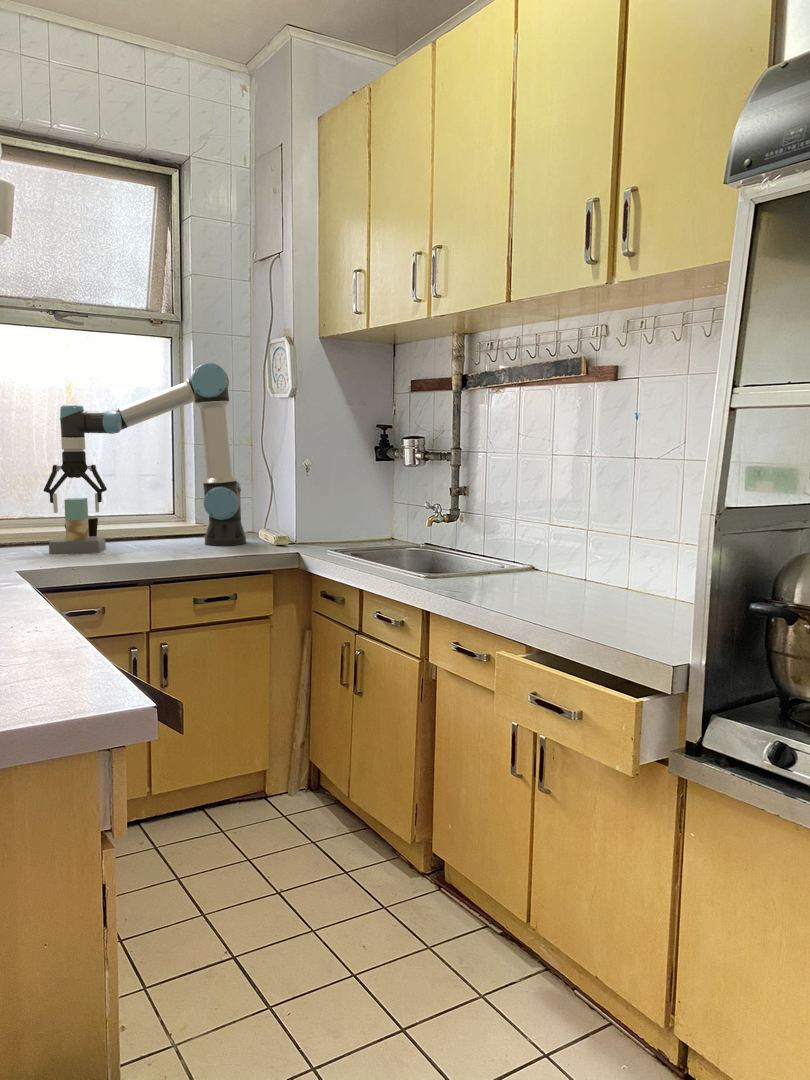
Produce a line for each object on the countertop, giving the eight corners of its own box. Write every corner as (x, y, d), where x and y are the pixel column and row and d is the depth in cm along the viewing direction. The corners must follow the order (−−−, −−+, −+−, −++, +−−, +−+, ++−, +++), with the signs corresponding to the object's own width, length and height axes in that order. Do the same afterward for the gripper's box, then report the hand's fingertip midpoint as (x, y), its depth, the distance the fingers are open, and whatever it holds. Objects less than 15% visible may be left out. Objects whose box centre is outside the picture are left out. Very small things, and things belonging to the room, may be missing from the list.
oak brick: (89, 537, 291) (88, 517, 290) (84, 540, 283) (83, 520, 282) (70, 537, 290) (70, 518, 289) (66, 540, 282) (65, 520, 281)
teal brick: (88, 517, 290) (87, 497, 289) (83, 520, 282) (83, 499, 281) (70, 517, 289) (69, 498, 288) (65, 520, 281) (64, 499, 280)
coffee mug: (104, 544, 302) (103, 517, 300) (84, 547, 294) (82, 519, 293) (84, 542, 308) (82, 515, 307) (63, 545, 301) (62, 517, 299)
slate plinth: (105, 547, 295) (105, 536, 295) (99, 552, 282) (98, 541, 281) (58, 548, 292) (57, 537, 292) (49, 553, 279) (48, 542, 278)
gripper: (113, 450, 289) (116, 510, 291) (37, 450, 284) (40, 511, 286) (110, 450, 281) (112, 512, 284) (32, 450, 276) (35, 513, 279)
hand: (76, 512), depth 285 cm, fingers open, 13 cm apart
